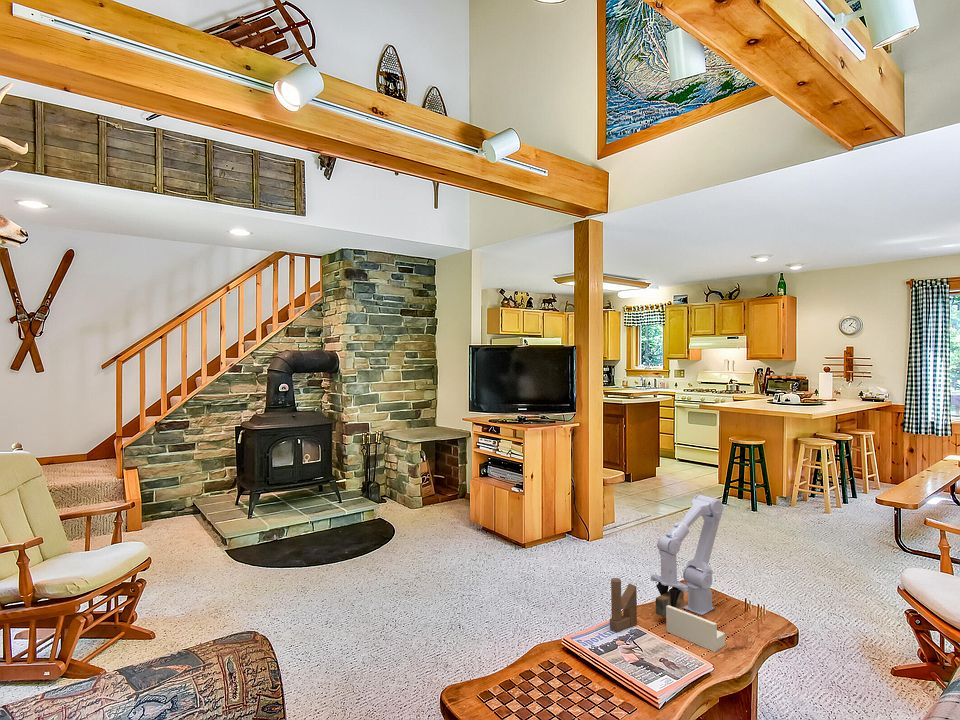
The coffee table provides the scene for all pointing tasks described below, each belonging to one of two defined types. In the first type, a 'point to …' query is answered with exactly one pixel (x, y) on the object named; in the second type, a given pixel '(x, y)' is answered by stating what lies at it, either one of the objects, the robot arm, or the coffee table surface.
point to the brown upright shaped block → (623, 606)
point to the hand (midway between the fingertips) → (669, 604)
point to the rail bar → (667, 603)
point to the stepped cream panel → (694, 629)
